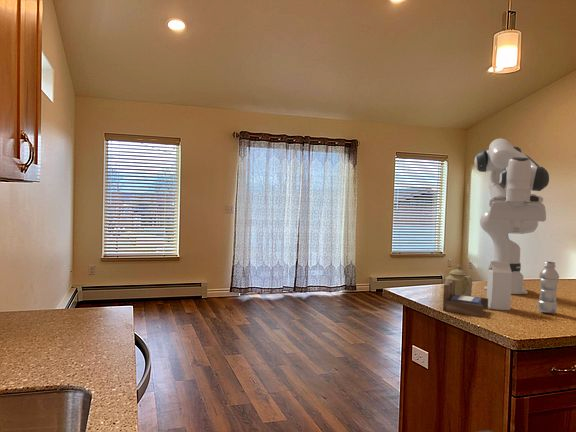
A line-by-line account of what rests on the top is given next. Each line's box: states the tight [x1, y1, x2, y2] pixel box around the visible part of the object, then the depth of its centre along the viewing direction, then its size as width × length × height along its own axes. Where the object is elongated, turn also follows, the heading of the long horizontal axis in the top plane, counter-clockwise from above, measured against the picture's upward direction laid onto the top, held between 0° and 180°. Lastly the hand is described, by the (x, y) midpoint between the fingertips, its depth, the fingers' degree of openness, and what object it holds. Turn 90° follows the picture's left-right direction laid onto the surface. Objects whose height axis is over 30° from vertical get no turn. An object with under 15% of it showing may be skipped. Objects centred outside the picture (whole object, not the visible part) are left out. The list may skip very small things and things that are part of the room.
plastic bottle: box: [537, 261, 560, 314], centre depth 172 cm, size 6×7×20 cm
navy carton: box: [450, 295, 482, 305], centre depth 174 cm, size 9×10×5 cm
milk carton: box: [486, 260, 512, 311], centre depth 178 cm, size 7×7×19 cm
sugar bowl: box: [444, 263, 473, 296], centre depth 196 cm, size 15×11×15 cm
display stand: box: [442, 280, 489, 317], centre depth 175 cm, size 15×14×10 cm
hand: (516, 231), depth 178 cm, fingers closed
